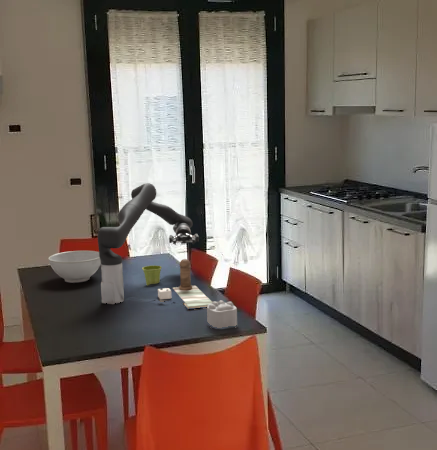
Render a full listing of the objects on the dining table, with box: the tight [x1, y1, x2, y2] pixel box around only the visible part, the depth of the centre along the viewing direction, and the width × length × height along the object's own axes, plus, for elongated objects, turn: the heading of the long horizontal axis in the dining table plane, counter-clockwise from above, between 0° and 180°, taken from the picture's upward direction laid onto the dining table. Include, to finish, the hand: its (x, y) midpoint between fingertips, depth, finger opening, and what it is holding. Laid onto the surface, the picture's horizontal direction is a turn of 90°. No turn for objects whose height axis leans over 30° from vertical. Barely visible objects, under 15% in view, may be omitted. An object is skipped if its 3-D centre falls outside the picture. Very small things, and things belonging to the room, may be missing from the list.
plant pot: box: [141, 265, 162, 286], centre depth 312 cm, size 9×9×9 cm
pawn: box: [178, 258, 193, 290], centre depth 298 cm, size 6×6×14 cm
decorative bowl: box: [47, 250, 101, 284], centre depth 326 cm, size 27×27×12 cm
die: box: [157, 287, 172, 303], centre depth 286 cm, size 5×5×6 cm
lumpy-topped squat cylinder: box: [206, 299, 238, 328], centre depth 252 cm, size 10×13×9 cm
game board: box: [172, 285, 213, 309], centre depth 288 cm, size 32×12×2 cm, turn 16°
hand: (184, 242), depth 306 cm, fingers open, 8 cm apart
